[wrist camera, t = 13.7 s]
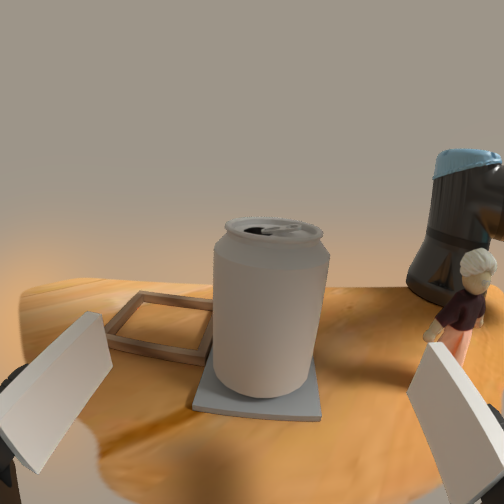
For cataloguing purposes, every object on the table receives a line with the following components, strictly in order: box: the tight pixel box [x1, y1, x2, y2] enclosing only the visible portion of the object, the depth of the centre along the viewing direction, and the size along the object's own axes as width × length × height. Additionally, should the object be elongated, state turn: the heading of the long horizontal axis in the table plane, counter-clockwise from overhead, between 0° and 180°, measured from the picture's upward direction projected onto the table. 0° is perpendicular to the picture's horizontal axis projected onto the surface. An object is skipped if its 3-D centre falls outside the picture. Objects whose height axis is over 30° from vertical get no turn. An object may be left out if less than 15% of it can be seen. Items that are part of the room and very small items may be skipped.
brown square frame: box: [104, 291, 213, 366], centre depth 28 cm, size 11×11×1 cm
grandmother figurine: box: [423, 248, 497, 368], centre depth 18 cm, size 8×4×13 cm, turn 110°
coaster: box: [192, 345, 322, 421], centre depth 22 cm, size 9×9×1 cm
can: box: [213, 217, 330, 398], centre depth 20 cm, size 8×8×12 cm
